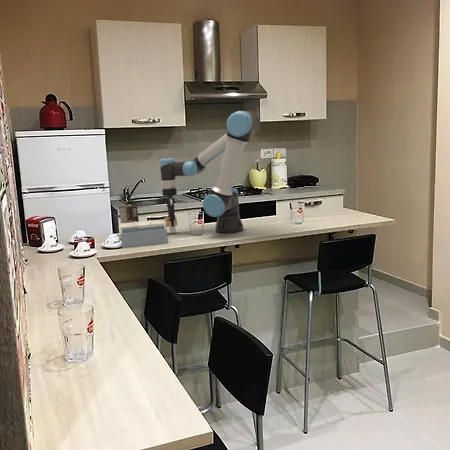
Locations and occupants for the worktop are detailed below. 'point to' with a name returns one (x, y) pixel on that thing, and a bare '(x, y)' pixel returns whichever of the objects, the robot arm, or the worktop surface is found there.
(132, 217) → the coffee box
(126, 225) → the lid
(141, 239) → the tub
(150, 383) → the worktop surface
